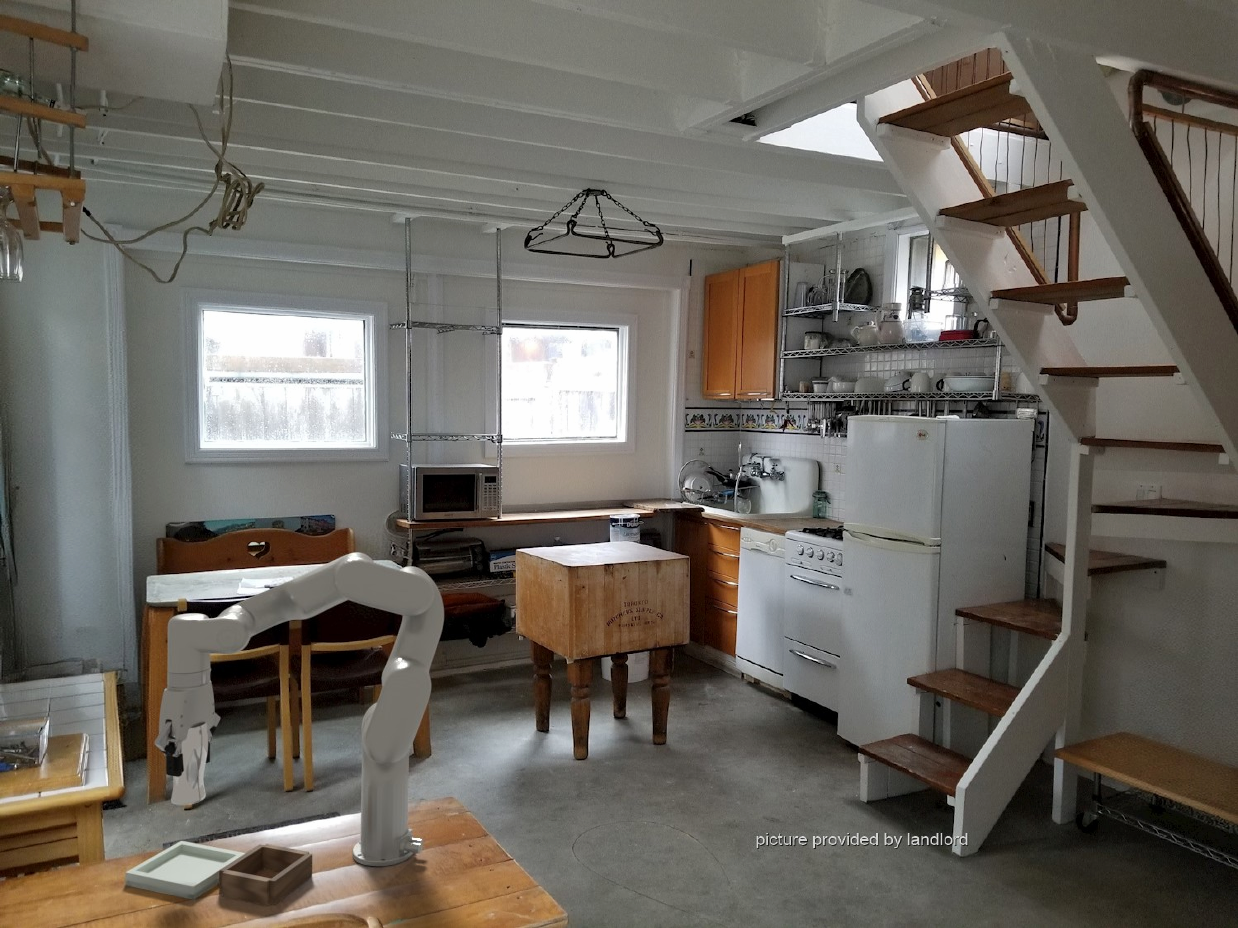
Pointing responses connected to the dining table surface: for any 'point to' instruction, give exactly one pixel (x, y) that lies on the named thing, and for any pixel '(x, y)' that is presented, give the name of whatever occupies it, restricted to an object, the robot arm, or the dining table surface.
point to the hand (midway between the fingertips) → (188, 767)
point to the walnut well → (262, 890)
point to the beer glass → (191, 767)
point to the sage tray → (182, 870)
